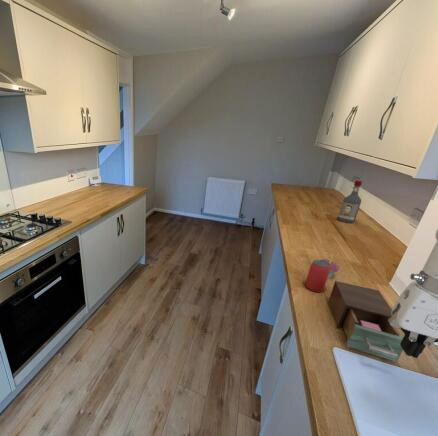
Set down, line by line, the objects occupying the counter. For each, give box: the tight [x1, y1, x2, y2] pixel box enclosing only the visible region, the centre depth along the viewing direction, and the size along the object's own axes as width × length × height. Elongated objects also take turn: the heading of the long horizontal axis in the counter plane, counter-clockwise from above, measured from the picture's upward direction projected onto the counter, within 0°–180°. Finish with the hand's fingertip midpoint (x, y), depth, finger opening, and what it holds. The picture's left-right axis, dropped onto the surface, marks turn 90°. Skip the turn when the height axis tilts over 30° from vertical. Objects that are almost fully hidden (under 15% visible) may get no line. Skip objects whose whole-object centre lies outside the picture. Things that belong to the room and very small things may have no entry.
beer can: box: [304, 259, 330, 293], centre depth 98 cm, size 7×7×12 cm
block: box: [358, 320, 381, 331], centre depth 72 cm, size 4×4×4 cm
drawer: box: [342, 308, 404, 362], centre depth 72 cm, size 18×11×8 cm, turn 154°
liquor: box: [337, 180, 363, 224], centre depth 171 cm, size 9×9×30 cm
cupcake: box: [321, 253, 340, 279], centre depth 107 cm, size 9×8×12 cm
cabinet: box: [327, 280, 393, 330], centre depth 82 cm, size 15×13×10 cm
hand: (408, 351), depth 55 cm, fingers closed
